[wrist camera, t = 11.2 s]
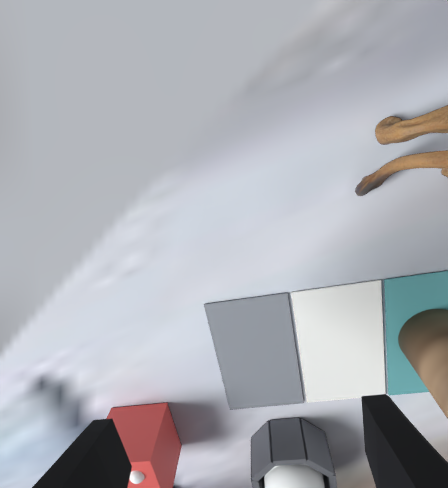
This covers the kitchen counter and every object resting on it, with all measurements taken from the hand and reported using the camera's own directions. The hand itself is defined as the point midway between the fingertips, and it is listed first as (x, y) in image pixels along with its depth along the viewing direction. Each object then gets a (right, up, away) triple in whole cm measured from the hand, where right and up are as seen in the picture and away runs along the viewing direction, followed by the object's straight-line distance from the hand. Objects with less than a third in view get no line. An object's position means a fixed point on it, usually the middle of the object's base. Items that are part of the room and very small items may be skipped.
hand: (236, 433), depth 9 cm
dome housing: (+4, -8, +13) cm, 16 cm away
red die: (-6, -7, +13) cm, 16 cm away
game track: (+6, -1, +10) cm, 12 cm away
